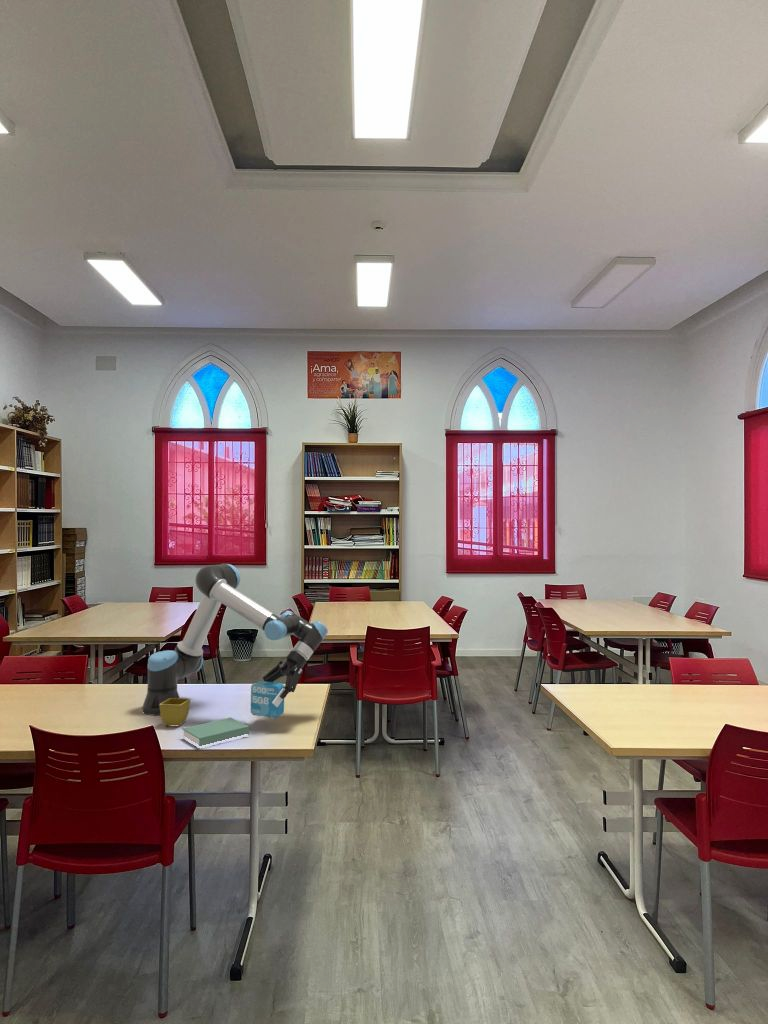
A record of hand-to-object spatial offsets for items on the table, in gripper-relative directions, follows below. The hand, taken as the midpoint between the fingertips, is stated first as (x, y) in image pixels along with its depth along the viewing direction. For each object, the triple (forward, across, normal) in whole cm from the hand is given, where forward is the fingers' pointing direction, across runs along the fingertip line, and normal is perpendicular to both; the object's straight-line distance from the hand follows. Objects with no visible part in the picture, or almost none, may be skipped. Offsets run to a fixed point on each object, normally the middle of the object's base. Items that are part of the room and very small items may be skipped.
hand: (265, 701), depth 230 cm
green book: (+21, +2, +6) cm, 22 cm away
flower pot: (+25, +26, +10) cm, 37 cm away
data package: (+3, 0, -5) cm, 6 cm away
